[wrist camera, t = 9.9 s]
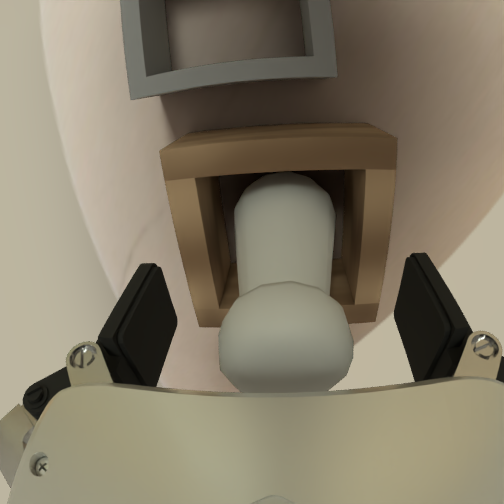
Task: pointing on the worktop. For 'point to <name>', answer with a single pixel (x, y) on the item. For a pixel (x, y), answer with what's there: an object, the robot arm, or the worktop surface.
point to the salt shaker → (285, 292)
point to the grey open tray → (167, 81)
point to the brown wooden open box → (273, 160)
